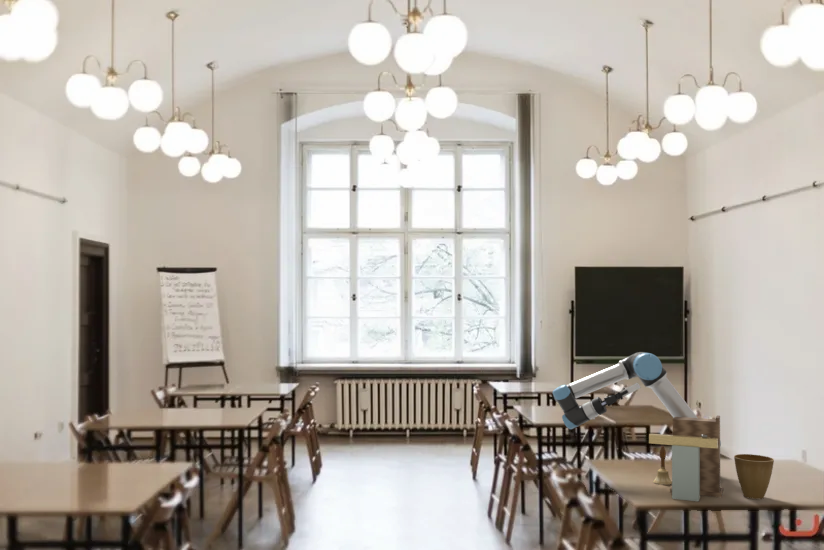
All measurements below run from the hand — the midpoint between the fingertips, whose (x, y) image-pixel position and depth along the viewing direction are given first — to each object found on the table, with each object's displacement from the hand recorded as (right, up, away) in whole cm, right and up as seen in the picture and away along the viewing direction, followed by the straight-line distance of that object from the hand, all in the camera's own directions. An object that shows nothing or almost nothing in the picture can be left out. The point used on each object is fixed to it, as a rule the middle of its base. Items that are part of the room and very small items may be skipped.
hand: (637, 386), depth 351 cm
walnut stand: (+19, -41, -21) cm, 50 cm away
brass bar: (+10, -19, -32) cm, 38 cm away
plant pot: (+39, -41, -30) cm, 64 cm away
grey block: (+10, -40, -33) cm, 53 cm away
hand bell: (+10, -42, -4) cm, 43 cm away
